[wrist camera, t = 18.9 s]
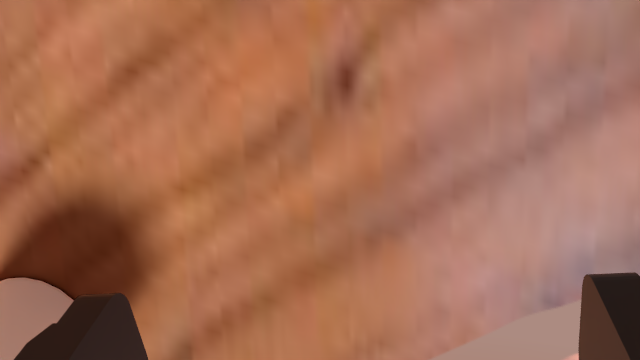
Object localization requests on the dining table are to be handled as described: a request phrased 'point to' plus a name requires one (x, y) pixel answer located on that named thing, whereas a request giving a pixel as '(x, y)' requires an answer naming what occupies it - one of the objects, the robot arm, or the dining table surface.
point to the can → (27, 312)
